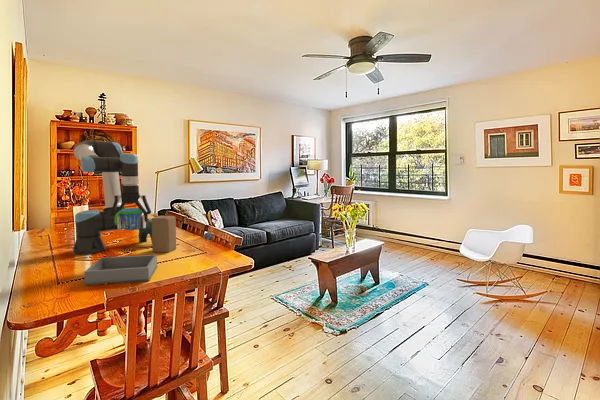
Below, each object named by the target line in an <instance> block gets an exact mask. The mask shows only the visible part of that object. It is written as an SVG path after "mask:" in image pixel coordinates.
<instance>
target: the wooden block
mask: <svg viewBox="0 0 600 400" xmlns="http://www.w3.org/2000/svg"><path fill="white" fill-rule="evenodd" d="M150 220H151V222H152V241H151V247H152V252H153V253H163V254H164V253H165V254H166V253H167V254H169V253H170V252H172V251H174V250H176V249H177V220H176V216H175V215H158V216H155V217H152V218H150Z"/></svg>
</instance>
